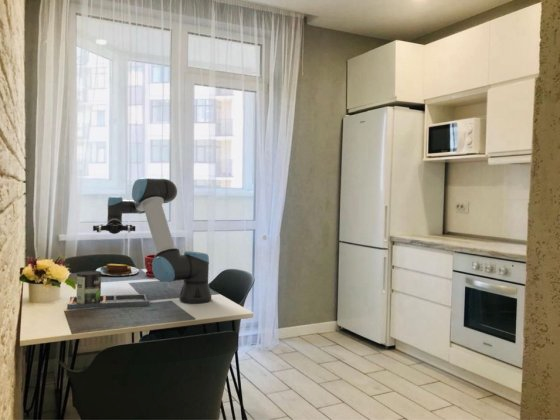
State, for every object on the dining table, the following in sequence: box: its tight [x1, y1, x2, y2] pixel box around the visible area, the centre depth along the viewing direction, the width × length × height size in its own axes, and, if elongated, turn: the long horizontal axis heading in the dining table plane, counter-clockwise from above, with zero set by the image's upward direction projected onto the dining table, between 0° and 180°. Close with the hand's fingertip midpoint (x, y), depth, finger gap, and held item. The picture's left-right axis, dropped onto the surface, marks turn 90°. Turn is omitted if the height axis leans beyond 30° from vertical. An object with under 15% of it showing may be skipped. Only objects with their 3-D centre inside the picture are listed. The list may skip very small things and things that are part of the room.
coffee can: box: [76, 270, 102, 304], centre depth 212 cm, size 10×10×14 cm
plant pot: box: [144, 254, 156, 278], centre depth 288 cm, size 13×13×12 cm
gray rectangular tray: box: [66, 293, 150, 310], centre depth 215 cm, size 34×16×2 cm, turn 109°
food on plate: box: [95, 263, 140, 277], centre depth 290 cm, size 25×25×7 cm
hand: (114, 229), depth 232 cm, fingers open, 13 cm apart
